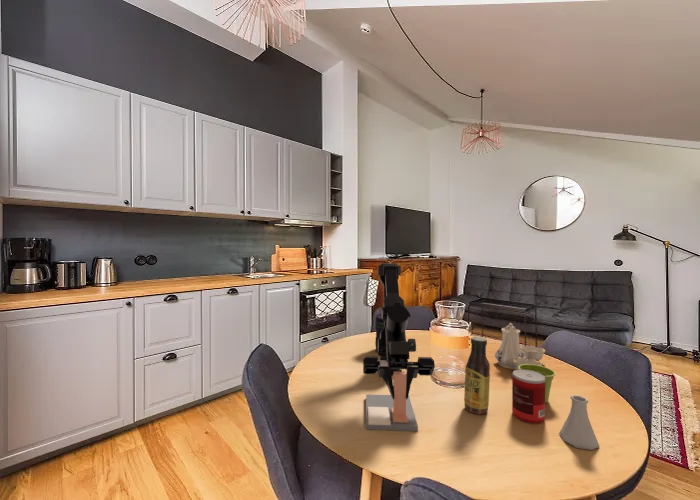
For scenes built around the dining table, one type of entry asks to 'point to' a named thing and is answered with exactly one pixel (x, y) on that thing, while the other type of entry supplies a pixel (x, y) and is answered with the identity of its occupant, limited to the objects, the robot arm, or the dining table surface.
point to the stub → (399, 397)
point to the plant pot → (544, 371)
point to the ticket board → (387, 414)
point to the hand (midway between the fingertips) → (400, 398)
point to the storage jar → (378, 328)
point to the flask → (579, 426)
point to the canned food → (528, 396)
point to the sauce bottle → (477, 378)
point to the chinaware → (516, 350)
